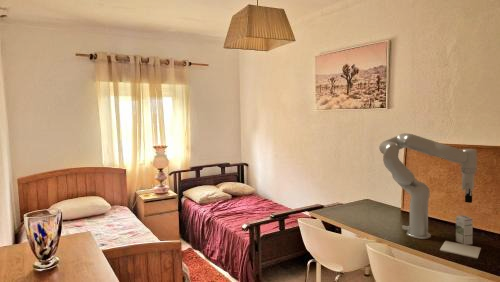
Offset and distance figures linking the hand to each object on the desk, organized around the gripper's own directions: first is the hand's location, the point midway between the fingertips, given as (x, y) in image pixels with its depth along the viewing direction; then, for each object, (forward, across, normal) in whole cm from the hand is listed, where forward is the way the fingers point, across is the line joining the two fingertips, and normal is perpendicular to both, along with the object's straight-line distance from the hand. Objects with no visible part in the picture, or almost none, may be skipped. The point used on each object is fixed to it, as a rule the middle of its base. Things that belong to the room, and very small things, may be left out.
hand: (468, 202), depth 182 cm
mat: (+20, +25, -1) cm, 32 cm away
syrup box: (+20, +13, -1) cm, 24 cm away
